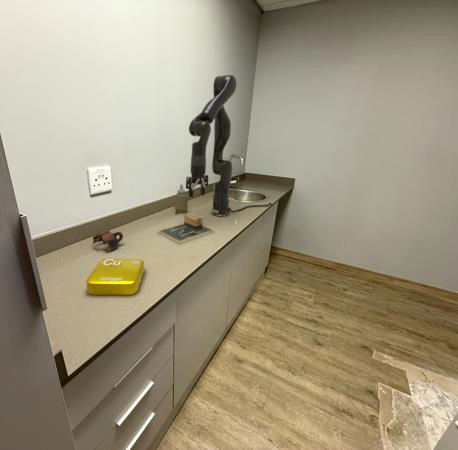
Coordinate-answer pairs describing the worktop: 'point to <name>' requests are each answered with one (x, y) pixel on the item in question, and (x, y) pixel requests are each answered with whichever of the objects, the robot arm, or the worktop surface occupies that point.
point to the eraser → (193, 221)
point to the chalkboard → (184, 231)
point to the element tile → (116, 277)
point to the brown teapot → (108, 239)
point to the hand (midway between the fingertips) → (196, 195)
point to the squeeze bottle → (181, 201)
